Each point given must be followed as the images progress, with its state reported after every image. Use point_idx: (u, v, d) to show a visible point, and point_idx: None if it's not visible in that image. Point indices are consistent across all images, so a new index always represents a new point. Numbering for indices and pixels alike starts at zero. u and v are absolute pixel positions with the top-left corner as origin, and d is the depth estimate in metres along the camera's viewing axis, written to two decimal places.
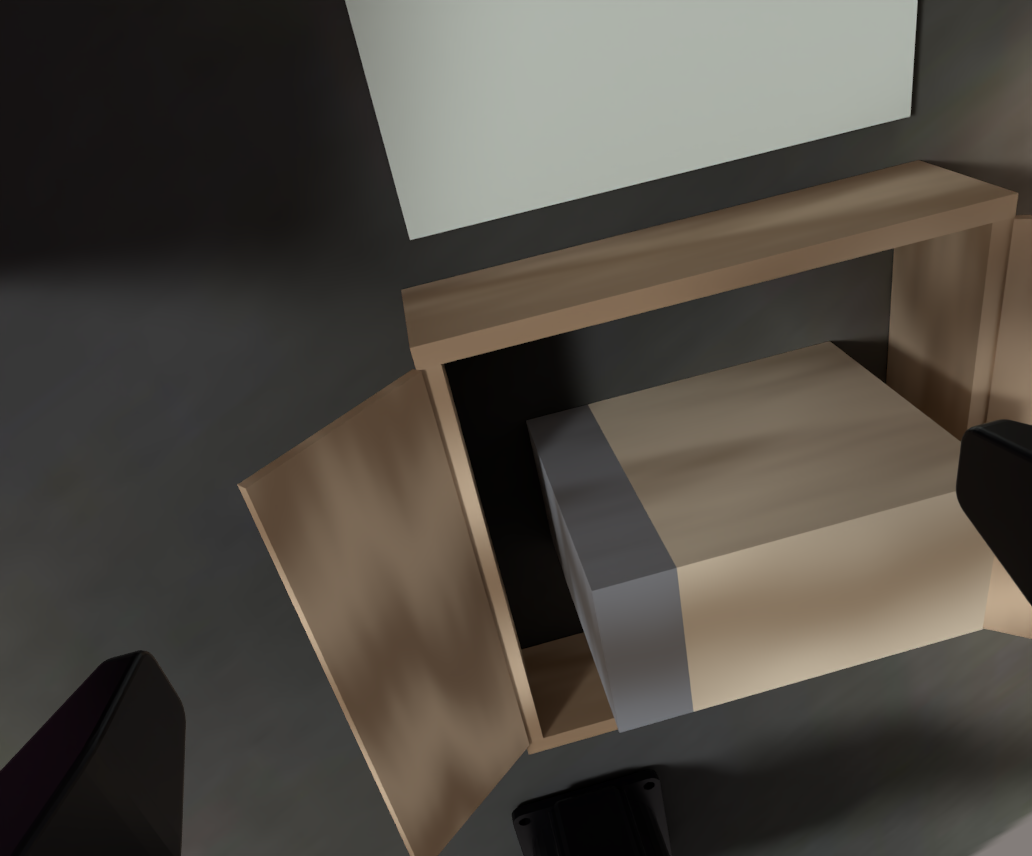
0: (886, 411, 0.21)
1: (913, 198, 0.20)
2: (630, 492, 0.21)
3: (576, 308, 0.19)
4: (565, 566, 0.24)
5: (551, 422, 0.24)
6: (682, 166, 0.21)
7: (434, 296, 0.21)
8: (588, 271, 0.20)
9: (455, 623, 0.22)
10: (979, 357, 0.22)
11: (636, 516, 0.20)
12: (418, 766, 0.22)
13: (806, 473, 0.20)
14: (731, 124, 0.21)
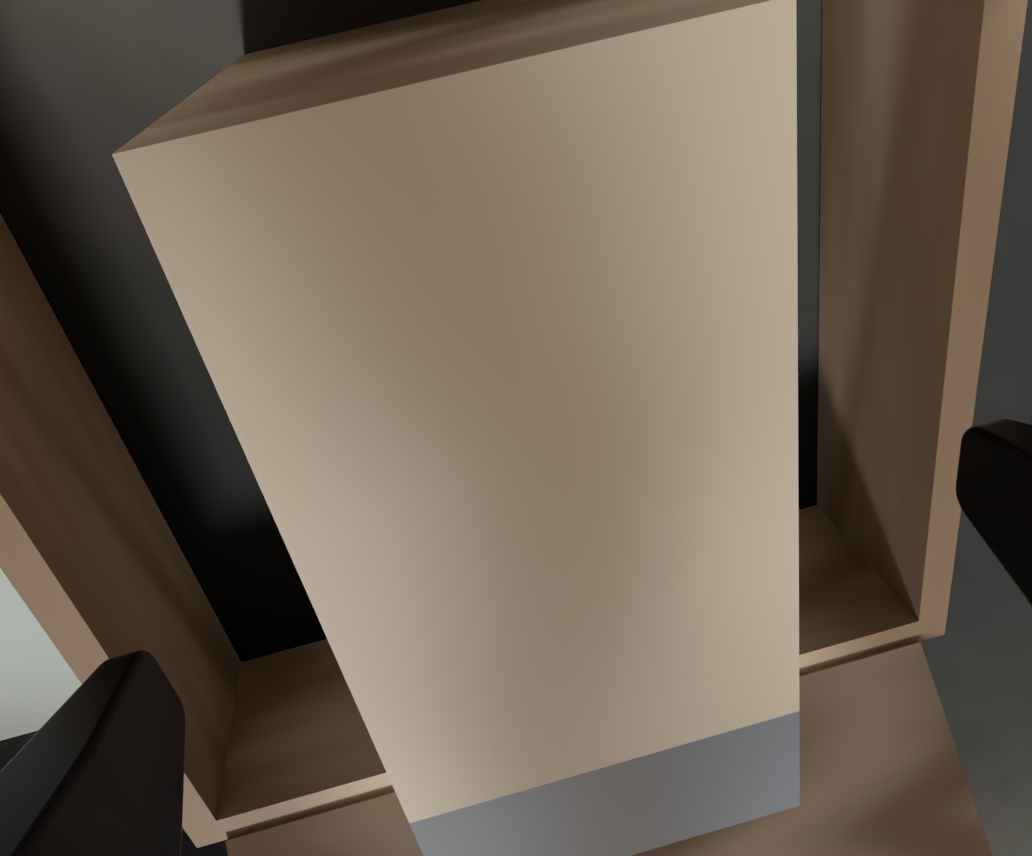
0: None
1: None
2: None
3: None
4: None
5: None
6: None
7: None
8: None
9: None
10: None
11: None
12: None
13: None
14: None
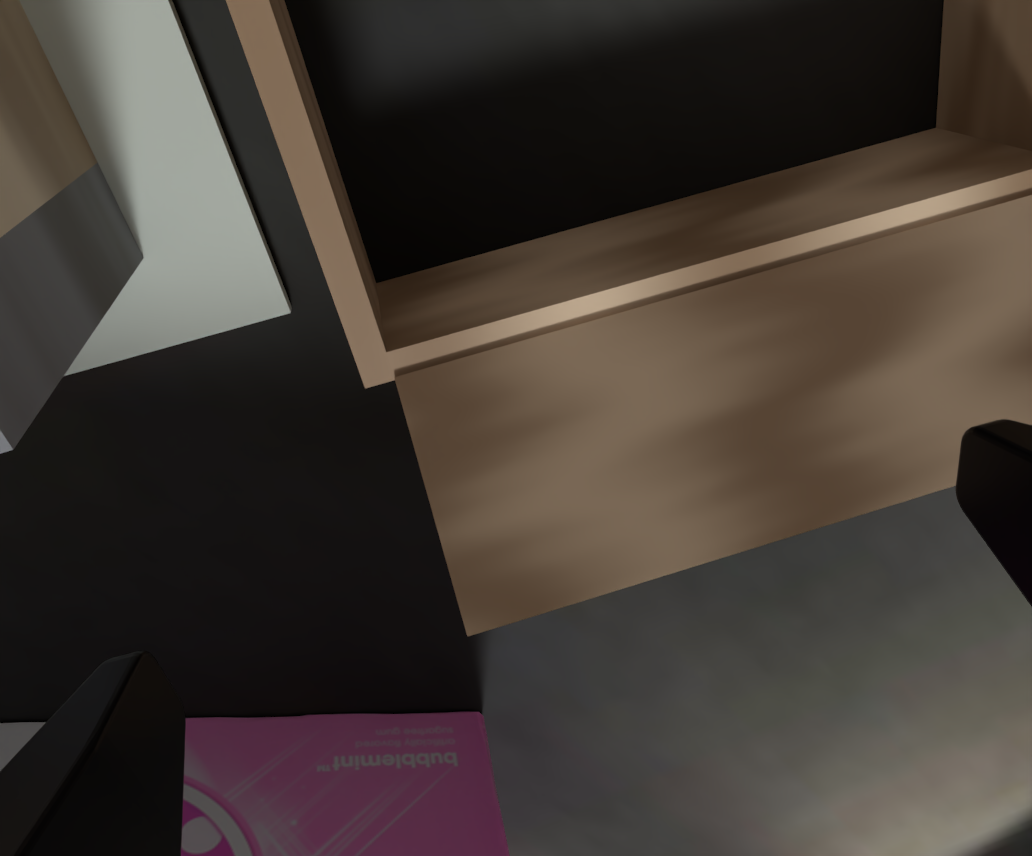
0: None
1: None
2: None
3: (293, 179, 0.13)
4: None
5: None
6: None
7: None
8: None
9: (773, 335, 0.15)
10: None
11: None
12: (973, 416, 0.15)
13: None
14: None
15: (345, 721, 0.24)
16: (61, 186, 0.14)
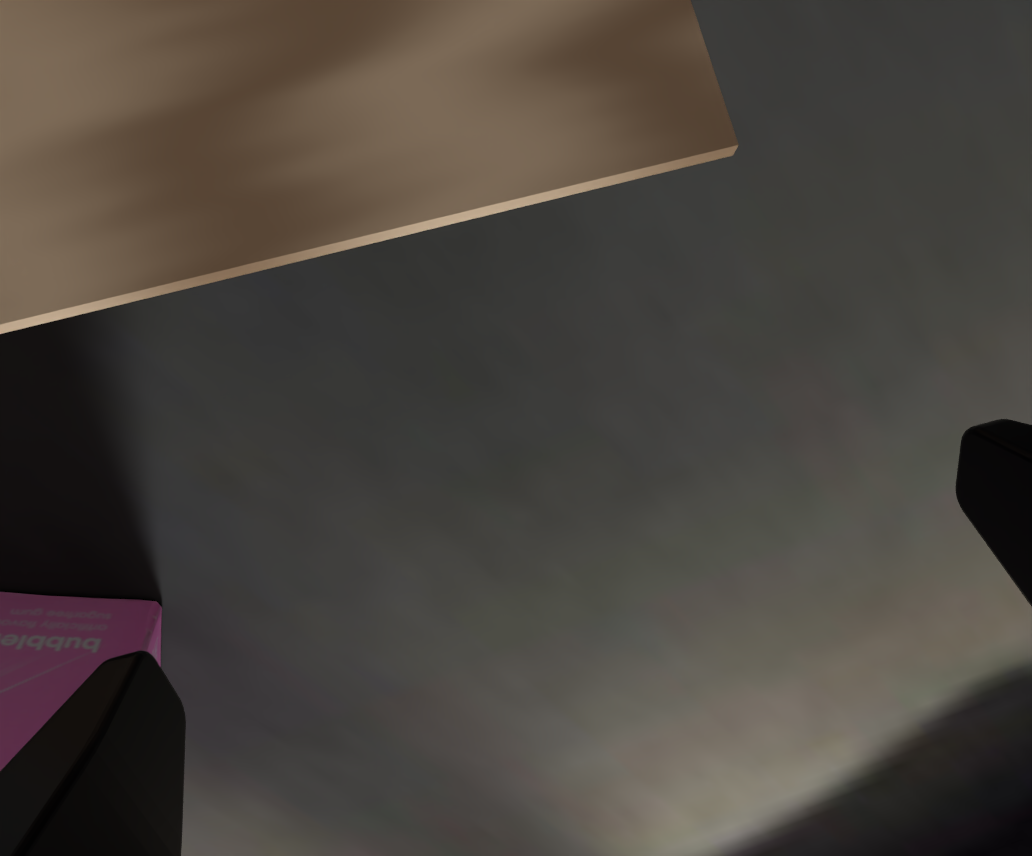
0: None
1: None
2: None
3: None
4: None
5: None
6: None
7: None
8: None
9: (221, 23, 0.12)
10: None
11: None
12: (473, 132, 0.11)
13: None
14: None
15: None
16: None
